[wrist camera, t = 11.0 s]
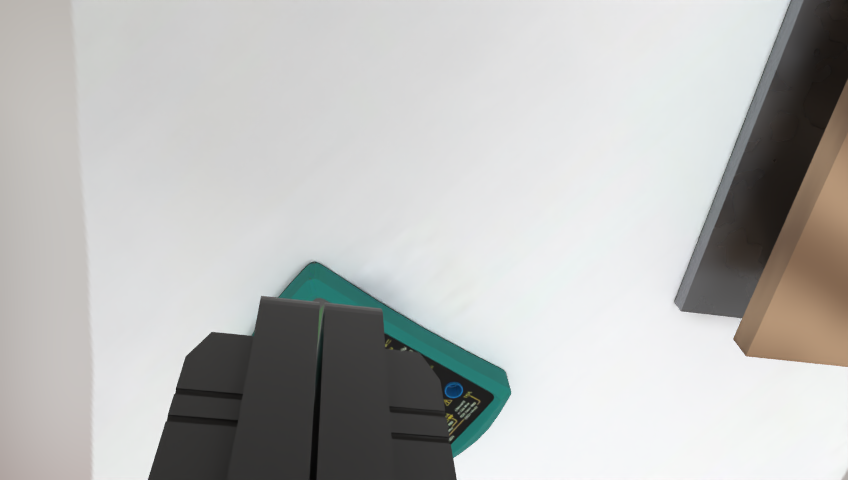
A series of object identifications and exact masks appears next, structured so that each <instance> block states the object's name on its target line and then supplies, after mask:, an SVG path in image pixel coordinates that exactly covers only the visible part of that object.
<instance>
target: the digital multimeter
mask: <svg viewBox="0 0 848 480" xmlns="http://www.w3.org/2000/svg"><path fill="white" fill-rule="evenodd" d="M278 298H285V299H295V300H304V301H313V302H320V309H319V326H318V339H319V332H320V325H321V319H322V312H323V307H324V303H334V304H344V305H353V306H362V307H372V308H381V309H382V311H383V322H384V337H385V349H392V350H402V351H412V352H417V351H418V352H420V354H421V355H422V356H423V358H424V359H425V360H426V362H427V363H428V364H429V366H430V367H431V368H432V370H433V371H434V372H435V374H436V375H437V376H438V378H439V379H440V382H441V388H442V394H443V400H444V406H445V417H446V418H447V424H448V431H449V444H451V449H452V455H453V458H454V457H456V456H457V455H459V454H460V453H461V452H463V451H464V450H465V449H467V448H468V447H469V446H471V445H472V444H473V443H475V442H476V441H477V440H478V439H479V438H480V437H481V436H482V435H483V434H484V433H485V432H486V431H487V430H488V429H489V427H490V426H491V425H492V423H493V422H494V420H495V419H496V418H497V416H498V415H499V413H500V412H501V410H502V408H503V407H504V405H505V403H506V402H507V400H508V398H509V397H510V395H511V389H510V386H509V382H508V379H507V375H506V372H505V371H504V370H503V369H501V368H499V367H497V366H495V365H493V364H491V363H489V362H487V361H485V360H483V359H481V358H479V357H477V356H475V355H473V354H471V353H469V352H467V351H465V350H463V349H461V348H459V347H457V346H456V345H454V344H452V343H450V342H448V341H446V340H444V339H442V338H441V337H439V336H437V335H435V334H433V333H431V332H429V331H428V330H426V329H424V328H422V327H420V326H419V325H417V324H415V323H414V322H412V321H410V320H409V319H407V318H405V317H404V316H402V315H400V314H399V313H397V312H395V311H394V310H392V309H390V308H388V307H387V306H385V305H383V304H382V303H380V302H378V301H377V300H375V299H374V298H372V297H371V296H369V295H367V294H366V293H364V292H363V291H361V290H360V289H358V288H357V287H355V286H353V285H352V284H350V283H349V282H347V281H346V280H344V279H343V278H341V277H339V276H338V275H336V274H335V273H333V272H332V271H330V270H329V269H327V268H325V267H324V266H322V265H321V264H318V263H310V264H309V265H308V266H306V268H305V269H304V270H303V271H302V272H301V273H300V274H299V275H298V276H297V277H296V278H295V279H294V280H293V281H292V283H291V284H290V285H289V286H288V287H287V288H286V289H285V290H284V292H283V293H282V294H281V295H280V296H279V297H278ZM254 332H255V331H254ZM385 333H386V334H385ZM252 336H254V333H253V335H252ZM390 336H391V337H390ZM392 337H393V338H392ZM394 338H395V339H394ZM399 341H400V342H399ZM401 342H402V343H401ZM406 345H407V346H406ZM317 346H318V343H317ZM408 346H409V347H408ZM410 347H411V348H410ZM415 350H416V351H415ZM424 355H425V356H424ZM426 356H427V357H426ZM431 359H432V360H431ZM433 360H434V361H433ZM435 361H436V362H435ZM440 364H441V365H440ZM442 365H443V366H442ZM465 378H466V379H465ZM467 379H468V380H467ZM474 383H475V384H474ZM481 387H482V388H481ZM483 388H484V389H483ZM490 392H491V393H490Z"/></svg>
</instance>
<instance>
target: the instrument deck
mask: <svg viewBox="0 0 848 480" xmlns="http://www.w3.org/2000/svg"><path fill="white" fill-rule="evenodd" d="M733 339H734V341H735V342H736V343H737V345H738V346H739V347H740V349H741V350H742V351H743V353H744V354H745V356H749V357H759V358H768V359H778V360H787V361H797V362H806V363H816V364H825V365H835V366H845V367H848V79H847V82H846V84H845V86H844V88H843V91H842V93H841V95H840V98H839V100H838V102H837V104H836V107H835V109H834V111H833V113H832V116H831V118H830V120H829V123H828V125H827V127H826V129H825V132H824V134H823V136H822V138H821V141H820V143H819V145H818V148H817V150H816V152H815V154H814V157H813V159H812V161H811V163H810V166H809V168H808V170H807V173H806V175H805V177H804V179H803V182H802V184H801V186H800V188H799V191H798V193H797V195H796V198H795V200H794V202H793V204H792V207H791V209H790V211H789V213H788V216H787V218H786V220H785V223H784V225H783V227H782V229H781V232H780V234H779V236H778V238H777V241H776V243H775V245H774V248H773V250H772V252H771V254H770V257H769V259H768V261H767V263H766V266H765V268H764V270H763V273H762V275H761V277H760V279H759V282H758V284H757V286H756V288H755V291H754V293H753V295H752V298H751V300H750V302H749V304H748V307H747V309H746V311H745V313H744V316H743V318H742V320H741V322H740V325H739V327H738V329H737V332H736V334H735V336H734V338H733Z"/></svg>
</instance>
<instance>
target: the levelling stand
mask: <svg viewBox="0 0 848 480" xmlns="http://www.w3.org/2000/svg"><path fill="white" fill-rule="evenodd" d="M847 79H848V0H791V3H790V5H789V8H788V11H787V13H786V16H785V18H784V21H783V24H782V26H781V29H780V31H779V34H778V36H777V39H776V42H775V44H774V47H773V49H772V52H771V54H770V57H769V60H768V62H767V65H766V67H765V70H764V73H763V75H762V78H761V80H760V83H759V85H758V88H757V91H756V93H755V96H754V98H753V101H752V103H751V106H750V109H749V111H748V114H747V116H746V119H745V121H744V124H743V127H742V129H741V132H740V134H739V137H738V140H737V142H736V145H735V147H734V150H733V152H732V155H731V158H730V160H729V163H728V165H727V168H726V170H725V173H724V176H723V178H722V181H721V183H720V186H719V188H718V191H717V194H716V196H715V199H714V201H713V204H712V207H711V209H710V212H709V214H708V217H707V219H706V222H705V225H704V227H703V230H702V232H701V235H700V237H699V240H698V243H697V245H696V248H695V250H694V253H693V256H692V258H691V261H690V263H689V266H688V268H687V271H686V274H685V276H684V279H683V281H682V284H681V286H680V289H679V292H678V294H677V297H676V299H675V303H676V305H677V306H678V308H679V309H680V311H684V312H693V313H701V314H710V315H719V316H728V317H737V318H743V316H744V313H745V311H746V309H747V307H748V304H749V302H750V300H751V298H752V295H753V293H754V291H755V288H756V286H757V284H758V282H759V279H760V277H761V275H762V273H763V270H764V268H765V266H766V263H767V261H768V259H769V257H770V254H771V252H772V250H773V248H774V245H775V243H776V241H777V238H778V236H779V234H780V232H781V229H782V227H783V225H784V223H785V220H786V218H787V216H788V213H789V211H790V209H791V207H792V204H793V202H794V200H795V198H796V195H797V193H798V191H799V188H800V186H801V184H802V182H803V179H804V177H805V175H806V173H807V170H808V168H809V166H810V163H811V161H812V159H813V157H814V154H815V152H816V150H817V148H818V145H819V143H820V141H821V138H822V136H823V134H824V132H825V129H826V127H827V125H828V123H829V120H830V118H831V116H832V113H833V111H834V109H835V107H836V104H837V102H838V100H839V98H840V95H841V93H842V91H843V88H844V86H845V84H846V82H847Z"/></svg>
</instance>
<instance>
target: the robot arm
mask: <svg viewBox="0 0 848 480" xmlns="http://www.w3.org/2000/svg"><path fill="white" fill-rule="evenodd" d="M319 309H320V302H313V301H304V300H295V299H285V298H276V297H267V296H261V300H260V305H259V310H258V316H257V321H256V327H255V332H254V336H247V335H237V334H227V333H216V332H211V333H210V334H209V335H208V336H207V337H206V338H205V339H204V340H203V341H202V342H201V343H200V344H199V345H198V346H197V347H195V348H194V349H193V350H192V351H191V352H190V353H189V354H188V355H187V356H186V358H185V361H184V364H183V367H182V371H181V374H180V377H179V380H178V384H177V387H176V393H175V394H174V397H173V400H172V403H171V406H170V410H169V413H168V419H167V421H166V423H165V426H164V429H163V432H162V436H161V439H160V442H159V446H158V449H157V452H156V455H155V459H154V462H153V465H152V468H151V472H150V475H149V478H148V480H457V479H456V473H455V467H454V461H453V455H452V449H451V444H449V431H448V424H447V418H446V417H445V406H444V400H443V394H442V388H441V382H440V379H439V378H438V376H437V375H436V374H435V372H434V371H433V370H432V368H431V367H430V366H429V364H428V363H427V362H426V360H425V359H424V358H423V356H422V355H421V354H420V352H412V351H402V350H392V349H385V337H384V322H383V311H382V309H381V308H372V307H362V306H353V305H344V304H334V303H324V307H323V312H322V319H321V325H320V332H319V339H318V326H319ZM317 343H318V346H317Z"/></svg>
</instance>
